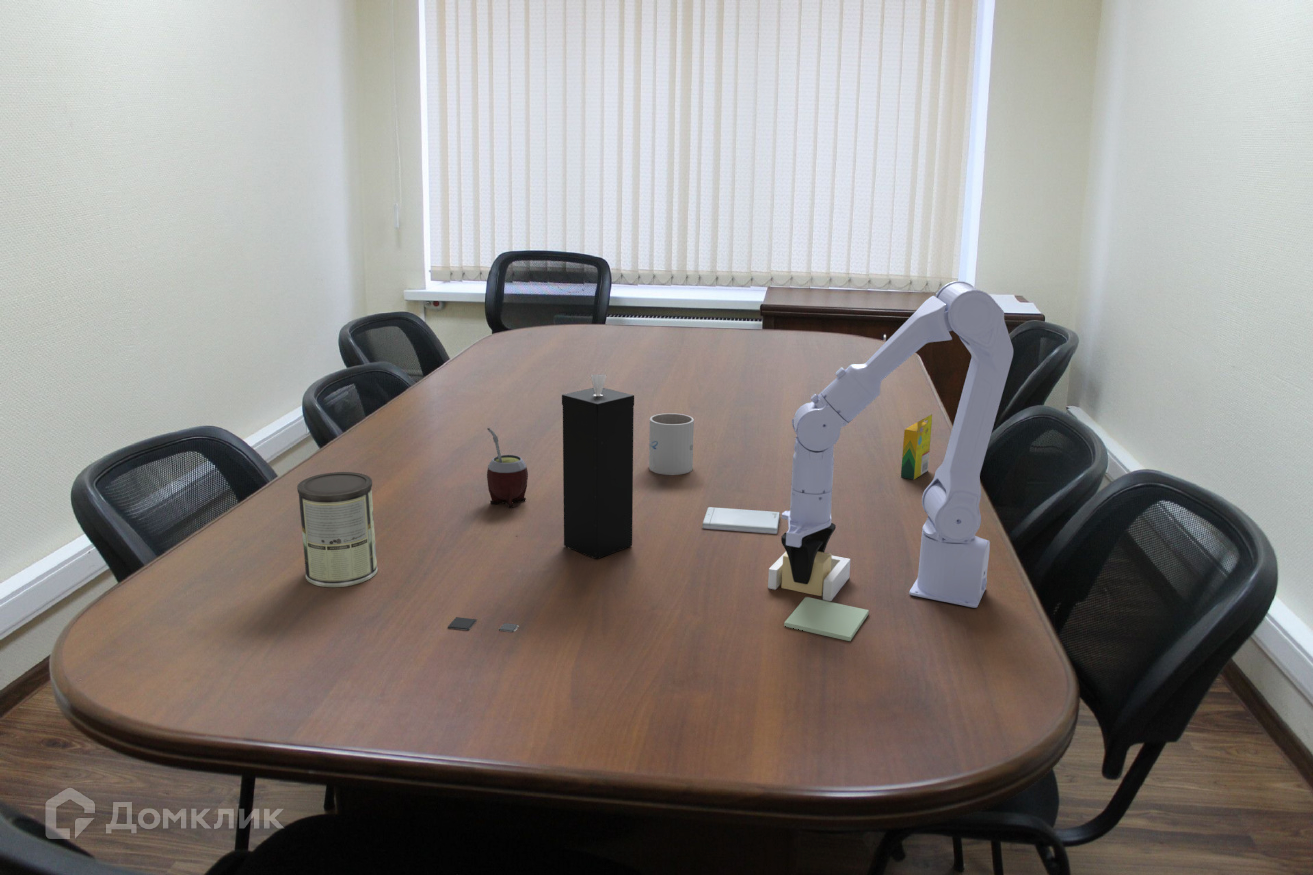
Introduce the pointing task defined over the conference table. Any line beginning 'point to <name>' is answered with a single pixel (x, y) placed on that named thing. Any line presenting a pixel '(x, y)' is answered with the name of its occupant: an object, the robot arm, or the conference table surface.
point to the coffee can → (338, 529)
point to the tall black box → (598, 469)
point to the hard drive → (741, 520)
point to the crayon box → (916, 449)
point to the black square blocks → (468, 623)
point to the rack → (831, 582)
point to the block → (817, 577)
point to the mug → (671, 443)
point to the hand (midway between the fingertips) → (806, 576)
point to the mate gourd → (506, 477)
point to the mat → (827, 618)
